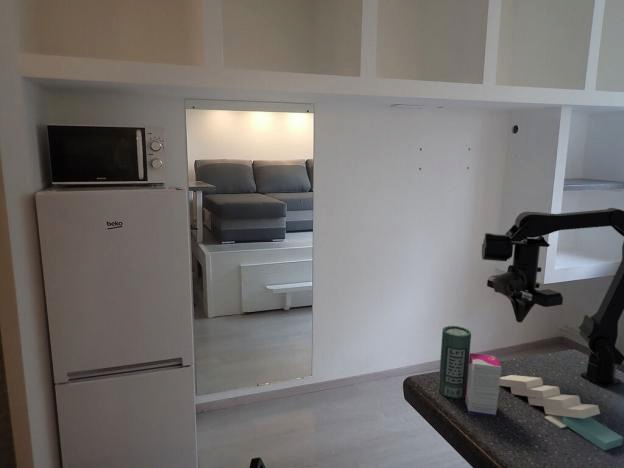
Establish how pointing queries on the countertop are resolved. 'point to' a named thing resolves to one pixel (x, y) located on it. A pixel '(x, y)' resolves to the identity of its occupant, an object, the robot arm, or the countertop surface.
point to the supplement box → (483, 384)
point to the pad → (556, 420)
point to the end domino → (594, 432)
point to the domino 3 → (555, 401)
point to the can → (454, 361)
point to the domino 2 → (537, 391)
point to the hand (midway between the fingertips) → (519, 321)
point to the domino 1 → (520, 381)
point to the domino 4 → (574, 411)
